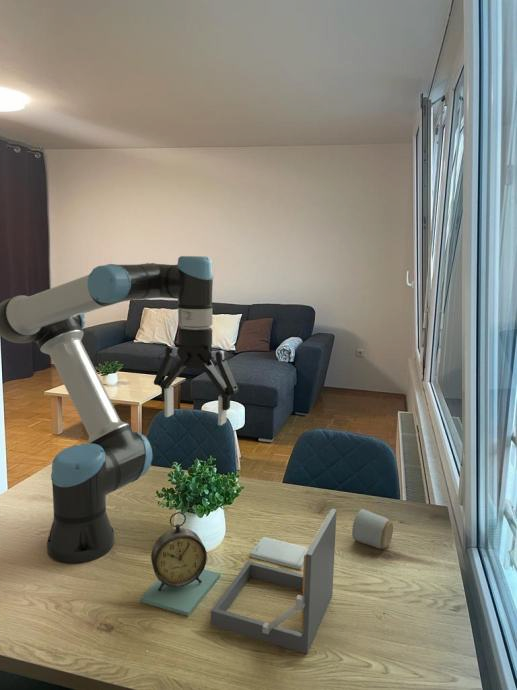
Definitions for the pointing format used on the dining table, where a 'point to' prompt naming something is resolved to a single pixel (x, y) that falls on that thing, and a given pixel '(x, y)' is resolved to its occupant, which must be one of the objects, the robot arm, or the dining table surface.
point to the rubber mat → (181, 594)
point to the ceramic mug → (372, 529)
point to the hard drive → (279, 552)
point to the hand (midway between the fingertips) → (195, 419)
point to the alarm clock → (178, 556)
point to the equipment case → (311, 582)
